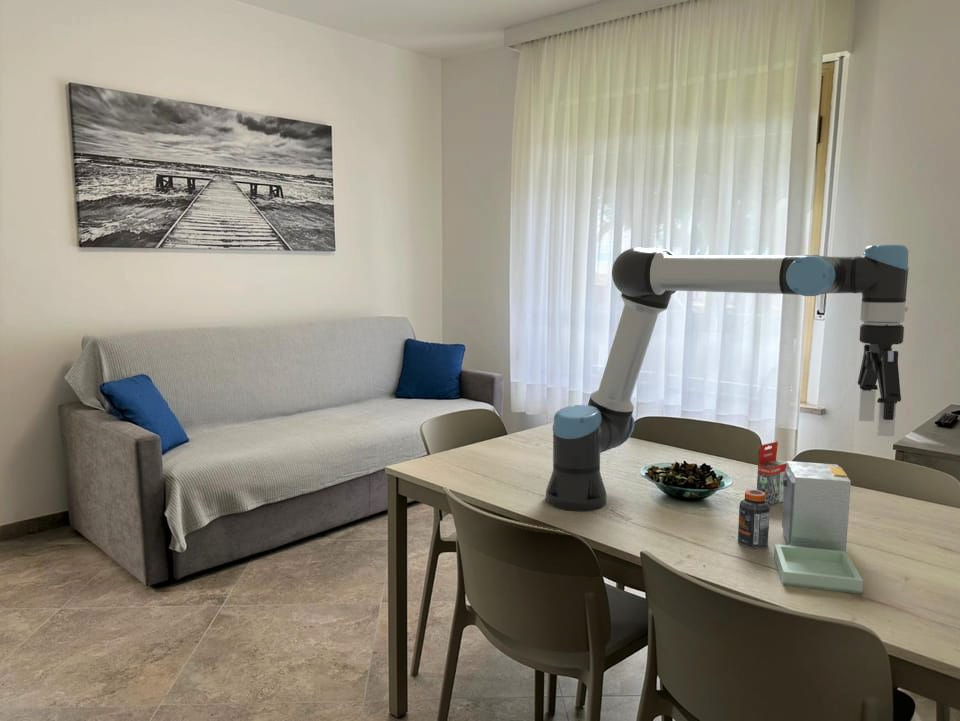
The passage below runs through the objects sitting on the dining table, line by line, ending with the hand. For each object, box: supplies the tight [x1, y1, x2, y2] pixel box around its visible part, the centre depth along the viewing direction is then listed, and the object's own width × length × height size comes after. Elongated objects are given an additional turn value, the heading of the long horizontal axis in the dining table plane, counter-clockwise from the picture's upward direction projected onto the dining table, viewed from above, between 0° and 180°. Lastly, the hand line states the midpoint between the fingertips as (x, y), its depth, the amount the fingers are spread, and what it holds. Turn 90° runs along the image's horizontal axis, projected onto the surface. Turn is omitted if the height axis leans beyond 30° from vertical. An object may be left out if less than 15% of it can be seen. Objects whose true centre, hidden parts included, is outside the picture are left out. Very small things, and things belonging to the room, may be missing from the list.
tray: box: [773, 543, 864, 595], centre depth 126 cm, size 13×13×2 cm
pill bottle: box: [737, 489, 771, 549], centre depth 140 cm, size 6×6×11 cm
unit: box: [781, 460, 852, 552], centre depth 139 cm, size 11×12×16 cm
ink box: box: [756, 441, 787, 507], centre depth 165 cm, size 4×8×15 cm, turn 123°
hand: (875, 428), depth 135 cm, fingers open, 13 cm apart
